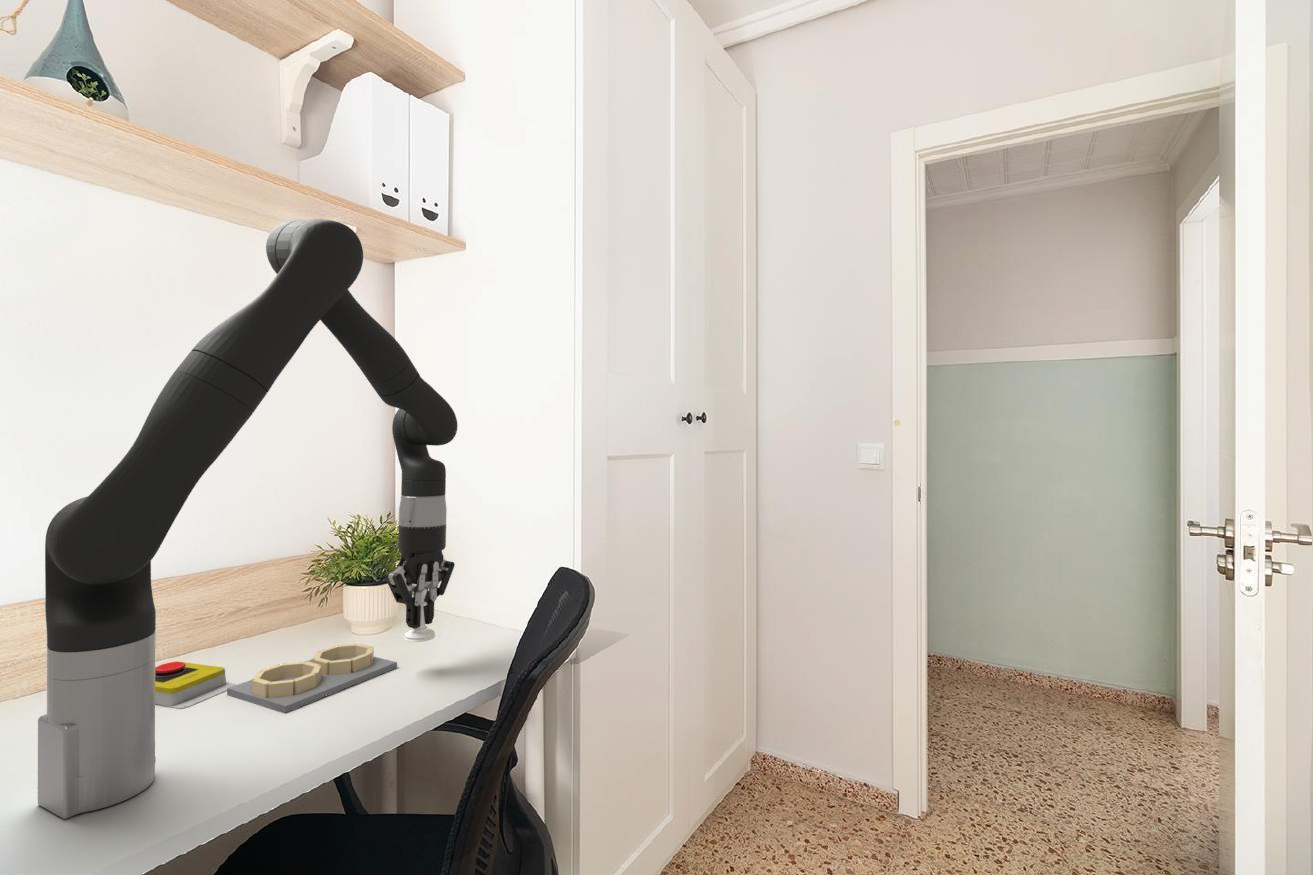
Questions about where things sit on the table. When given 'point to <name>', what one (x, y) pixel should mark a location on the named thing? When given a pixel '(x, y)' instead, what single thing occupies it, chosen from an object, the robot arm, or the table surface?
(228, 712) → the table surface
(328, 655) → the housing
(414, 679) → the table surface
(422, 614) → the chess piece
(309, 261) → the robot arm
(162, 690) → the emergency button
